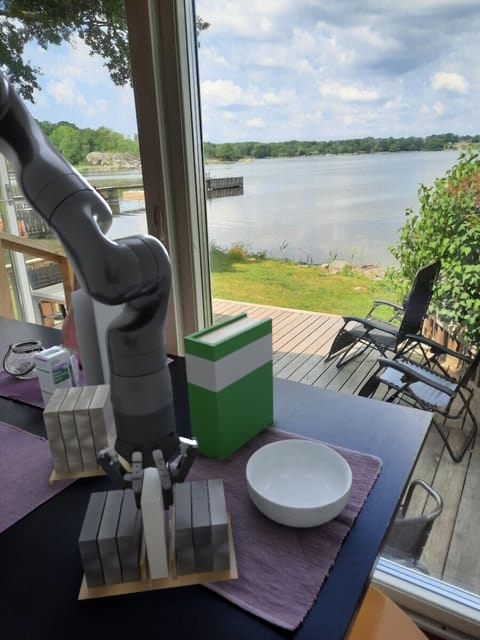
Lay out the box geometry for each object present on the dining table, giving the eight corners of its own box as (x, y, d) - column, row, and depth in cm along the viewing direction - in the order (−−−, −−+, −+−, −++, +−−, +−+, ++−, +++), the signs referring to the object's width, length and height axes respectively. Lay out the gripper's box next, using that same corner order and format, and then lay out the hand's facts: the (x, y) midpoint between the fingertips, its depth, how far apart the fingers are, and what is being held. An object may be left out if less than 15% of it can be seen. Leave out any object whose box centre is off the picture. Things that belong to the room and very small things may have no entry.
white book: (150, 579, 60) (140, 502, 55) (154, 528, 68) (145, 457, 64) (168, 577, 60) (159, 499, 55) (170, 526, 68) (162, 456, 64)
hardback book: (247, 411, 102) (243, 312, 94) (273, 421, 97) (272, 318, 89) (193, 448, 89) (183, 337, 81) (220, 462, 84) (213, 346, 76)
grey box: (112, 424, 98) (92, 295, 88) (91, 421, 100) (69, 293, 90) (144, 394, 111) (131, 278, 101) (125, 391, 112) (110, 277, 102)
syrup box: (59, 415, 103) (48, 358, 98) (44, 408, 106) (32, 353, 101) (79, 404, 107) (70, 349, 102) (64, 398, 110) (54, 344, 106)
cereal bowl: (244, 544, 66) (243, 506, 63) (248, 471, 81) (247, 438, 79) (360, 546, 65) (362, 507, 62) (341, 471, 80) (342, 438, 78)
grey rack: (79, 605, 57) (67, 552, 55) (95, 533, 69) (87, 486, 66) (238, 583, 60) (236, 531, 57) (229, 517, 71) (227, 471, 68)
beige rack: (49, 485, 80) (35, 417, 75) (66, 445, 91) (54, 385, 86) (161, 472, 82) (153, 406, 77) (163, 436, 93) (157, 376, 89)
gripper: (196, 378, 60) (204, 483, 65) (91, 388, 58) (108, 494, 64) (198, 407, 53) (207, 521, 58) (79, 418, 51) (99, 534, 57)
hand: (155, 506), depth 61 cm, fingers closed on white book, 2 cm apart
